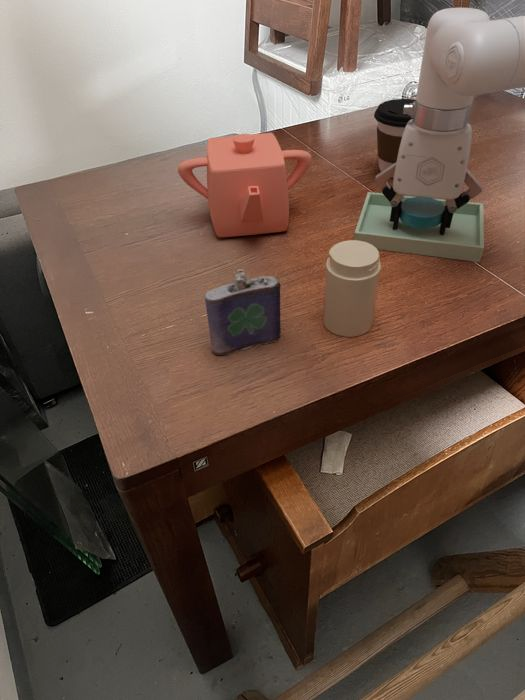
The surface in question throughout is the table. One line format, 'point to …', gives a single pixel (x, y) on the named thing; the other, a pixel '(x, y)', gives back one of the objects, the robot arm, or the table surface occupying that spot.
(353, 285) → the jar
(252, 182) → the teapot
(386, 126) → the coffee cup
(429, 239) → the tray
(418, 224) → the lid
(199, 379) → the table surface
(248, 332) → the flask
